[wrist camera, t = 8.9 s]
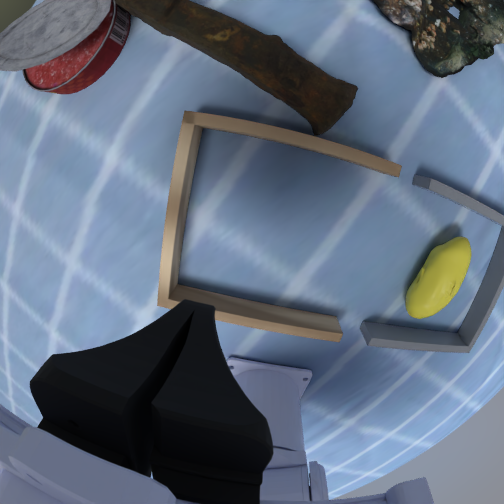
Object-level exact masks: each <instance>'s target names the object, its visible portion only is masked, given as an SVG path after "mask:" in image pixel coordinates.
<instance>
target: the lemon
mask: <svg viewBox="0 0 504 504" xmlns="http://www.w3.org/2000/svg"><path fill="white" fill-rule="evenodd" d="M470 260H471V247H470V243H469V241H468V239H467V238H465V237H455V238H453V239H451V240H450V241H448V242H446V243H445V244H442V245H438V246H436V247H435V248H434V249H433V250H432V251H431V252H430V254H429V256H428V258H427V260H426V262H425V264H424V265H423V267H422V268H421V270H420V272H419V273H418V275H417V277H416V278H415V280H414V281H413V283H412V284H411V286H410V287H409V289H408V291H407V294H406V310H407V312H408V314H409V315H410V316H411V317H414V318H418V319H421V318H426V317H429V316H432V315H434V314H436V313H437V312H439V311H440V310H441V309H443V308H444V307H445V306H446V305H447V304H448V303H449V302H450V301H451V300H452V298H453V297H454V296H455V295H456V293H457V292H458V290H459V288H460V286H461V284H462V282H463V280H464V278H465V275H466V273H467V270H468V267H469V264H470Z"/></svg>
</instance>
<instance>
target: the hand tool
mask: <svg viewBox="0 0 504 504" xmlns="http://www.w3.org/2000/svg"><path fill="white" fill-rule="evenodd" d="M114 1H115V2H116V4H118V5H119V6H121V7H122V8H124V9H125V10H126V11H128V12H129V13H130V14H131V15H132V16H134V17H138V18H140V19H141V20H142V21H143V22H145V23H147V24H148V25H150V26H152V27H153V28H154V29H156V30H157V31H159V32H161V33H162V34H164V35H168V36H173V37H175V38H177V39H179V40H181V41H183V42H185V43H187V44H189V45H190V46H192V47H194V48H196V49H198V50H200V51H201V52H203V53H205V54H207V55H208V56H210V57H212V58H213V59H215V60H217V61H219V62H221V63H223V64H225V65H227V66H229V67H230V68H232V69H234V70H235V71H237V72H239V73H240V74H242V75H243V76H244V77H245V78H247V79H249V80H250V81H251V82H253V83H254V84H255V85H257V86H258V87H260V88H261V89H262V90H264V91H266V92H268V93H270V94H271V95H273V96H274V97H276V98H277V99H280V100H282V101H283V102H285V103H286V104H287V105H289V106H290V107H291V108H293V109H294V110H296V111H297V112H298V113H299V114H300V115H302V116H303V117H304V118H306V119H307V120H308V122H309V123H310V124H311V126H312V128H313V133H314V136H316V135H320V134H323V133H325V132H326V131H328V130H329V129H330V128H331V127H332V126H333V125H334V124H335V123H336V122H337V121H338V120H339V119H340V118H341V117H342V116H343V115H344V113H345V112H346V111H347V110H348V109H349V108H350V107H351V106H352V104H353V100H354V99H355V95H356V92H357V90H358V88H357V86H355V85H353V84H350V83H347V82H345V81H343V80H340V79H336V78H334V77H332V76H330V75H328V74H327V73H325V72H324V71H322V70H321V69H320V68H318V67H317V66H315V65H314V64H313V63H311V62H309V61H308V60H306V59H305V58H303V57H301V56H300V55H298V54H297V53H296V52H295V51H294V50H293V49H292V48H291V47H289V46H288V45H287V44H285V43H283V41H282V39H281V38H280V37H279V36H277V35H265V34H263V33H261V32H259V31H257V30H255V29H253V28H251V27H249V26H247V25H246V24H244V23H242V22H240V21H238V20H236V19H233V18H231V17H229V16H226V15H224V14H222V13H220V12H218V11H215V10H212V9H210V8H207V7H205V6H202V5H199V4H197V3H194V2H192V1H189V0H114Z"/></svg>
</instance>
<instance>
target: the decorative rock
mask: <svg viewBox="0 0 504 504" xmlns="http://www.w3.org/2000/svg"><path fill="white" fill-rule="evenodd" d="M373 1H374V2H375V3H376V4H377V5H378V7H379V8H380V10H381V11H382V13H383V14H384V15H386V16H387V17H388V18H389V19H391V20H392V21H393V22H394V23H396V24H398V25H400V26H402V27H404V28H405V29H407V30H411V31H412V42H413V46H414V52H416V55H417V57H418V58H419V60H420V62H421V63H422V64H423V66H424V68H425V69H426V70H427V71H429V72H430V73H432V74H433V75H434V76H437V77H441V78H444V77H447V76H448V75H452V74H456V73H458V72H460V71H461V70H462V69H463V68H464V66H466V65H472V64H473V63H474V62H475V61H476V60H477V59H478V58H480V59H487V58H488V57H490V56H492V55H493V54H494V48H493V47H494V45H496V44H500V43H503V44H504V0H373ZM453 6H454V7H455V8H457V9H458V10H459V11H460V12H459V14H460V15H459V19H457V18H456V17H454V16H453V15H452V14H451V13H449V12H448V11H447V10H449V9H450V8H449V7H453ZM446 9H447V10H446Z"/></svg>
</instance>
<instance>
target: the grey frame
mask: <svg viewBox="0 0 504 504" xmlns="http://www.w3.org/2000/svg"><path fill="white" fill-rule="evenodd" d="M412 185H415V186H417V187H420V188H422V189H425V190H427V191H430V192H432V193H434V194H437V195H439V196H441V197H443V198H446V199H448V200H450V201H452V202H454V203H457V204H459V205H461V206H463V207H465V208H467V209H469V210H471V211H473V212H475V213H477V214H479V215H481V216H483V217H485V218H487V219H489V220H491V221H493V222H495V223H496V224H498V225H500V226H502V229H501V232H500V236H499V239H498V242H497V245H496V248H495V251H494V253H493V256H492V259H491V261H490V264H489V267H488V269H487V272H486V274H485V277H484V279H483V281H482V284H481V286H480V288H479V291H478V293H477V295H476V297H475V299H474V301H473V304H472V306H471V308H470V310H469V312H468V314H467V316H466V318H465V320H464V322H463V323H462V325H461V327H460V329H459V331H458V333H451V332H442V331H433V330H425V329H417V328H409V327H402V326H394V325H387V324H380V323H374V322H367V321H363V323H362V325H361V327H360V330H361V332H362V334H363V336H364V338H365V341H366V343H367V345H368V346H375V347H385V348H395V349H407V350H420V351H435V352H456V353H469V352H470V350H471V349H472V347H473V345H474V344H475V342H476V340H477V338H478V337H479V335H480V333H481V331H482V330H483V328H484V326H485V324H486V322H487V320H488V318H489V316H490V314H491V312H492V310H493V308H494V306H495V304H496V302H497V300H498V298H499V296H500V293H501V291H502V289H503V286H504V216H503V215H502V214H500V213H498V212H497V211H495V210H493V209H491V208H490V207H488V206H486V205H484V204H482V203H480V202H479V201H477V200H475V199H473V198H471V197H469V196H467V195H465V194H463V193H461V192H459V191H457V190H455V189H453V188H451V187H449V186H447V185H445V184H443V183H441V182H438V181H436V180H434V179H432V178H428V177H423V176H419V175H415V176H414V180H413V183H412Z"/></svg>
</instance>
